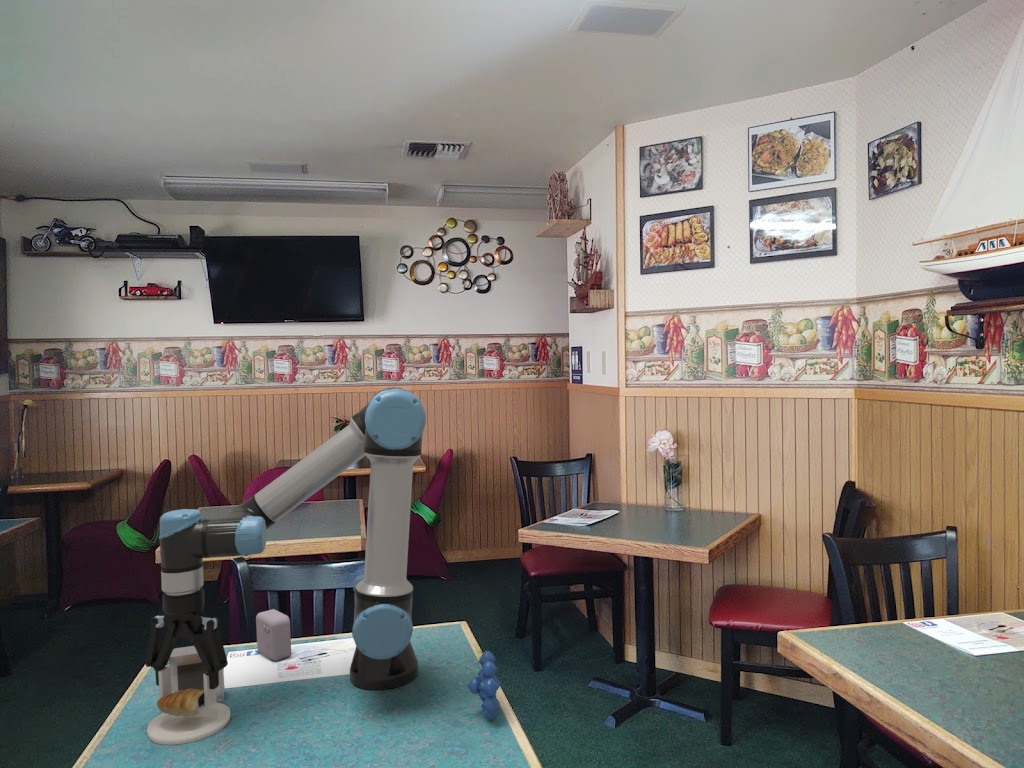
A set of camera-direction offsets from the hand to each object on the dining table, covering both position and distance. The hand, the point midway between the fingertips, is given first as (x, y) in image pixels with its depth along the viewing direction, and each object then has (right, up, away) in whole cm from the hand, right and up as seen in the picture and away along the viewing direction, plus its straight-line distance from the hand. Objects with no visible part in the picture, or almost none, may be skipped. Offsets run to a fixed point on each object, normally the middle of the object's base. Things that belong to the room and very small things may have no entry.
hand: (188, 702), depth 146 cm
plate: (0, -4, 0) cm, 4 cm away
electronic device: (+6, -4, +35) cm, 35 cm away
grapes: (+58, -3, 0) cm, 59 cm away
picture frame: (-3, -4, +11) cm, 12 cm away
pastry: (0, -1, -2) cm, 2 cm away
